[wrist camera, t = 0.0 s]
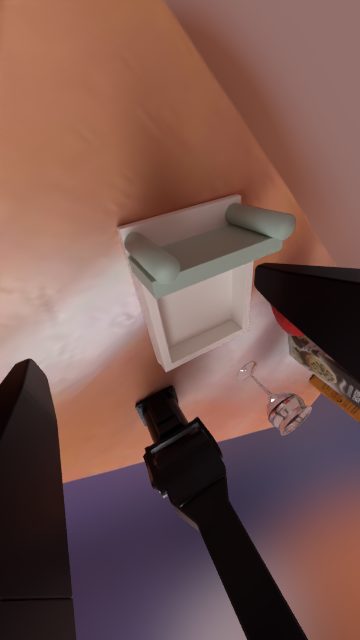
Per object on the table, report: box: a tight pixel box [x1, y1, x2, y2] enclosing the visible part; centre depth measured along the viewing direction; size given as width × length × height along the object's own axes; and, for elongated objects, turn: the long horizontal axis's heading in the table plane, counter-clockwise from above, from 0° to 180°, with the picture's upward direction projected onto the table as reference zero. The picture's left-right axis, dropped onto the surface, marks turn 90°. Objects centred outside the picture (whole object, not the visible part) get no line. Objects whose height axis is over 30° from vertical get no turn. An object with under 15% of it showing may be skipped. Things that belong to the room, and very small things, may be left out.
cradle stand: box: [117, 194, 296, 372], centre depth 24 cm, size 18×13×8 cm
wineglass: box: [237, 362, 312, 435], centre depth 41 cm, size 7×7×12 cm
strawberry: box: [271, 305, 308, 340], centre depth 33 cm, size 6×8×10 cm
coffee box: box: [288, 333, 360, 409], centre depth 42 cm, size 9×6×16 cm
